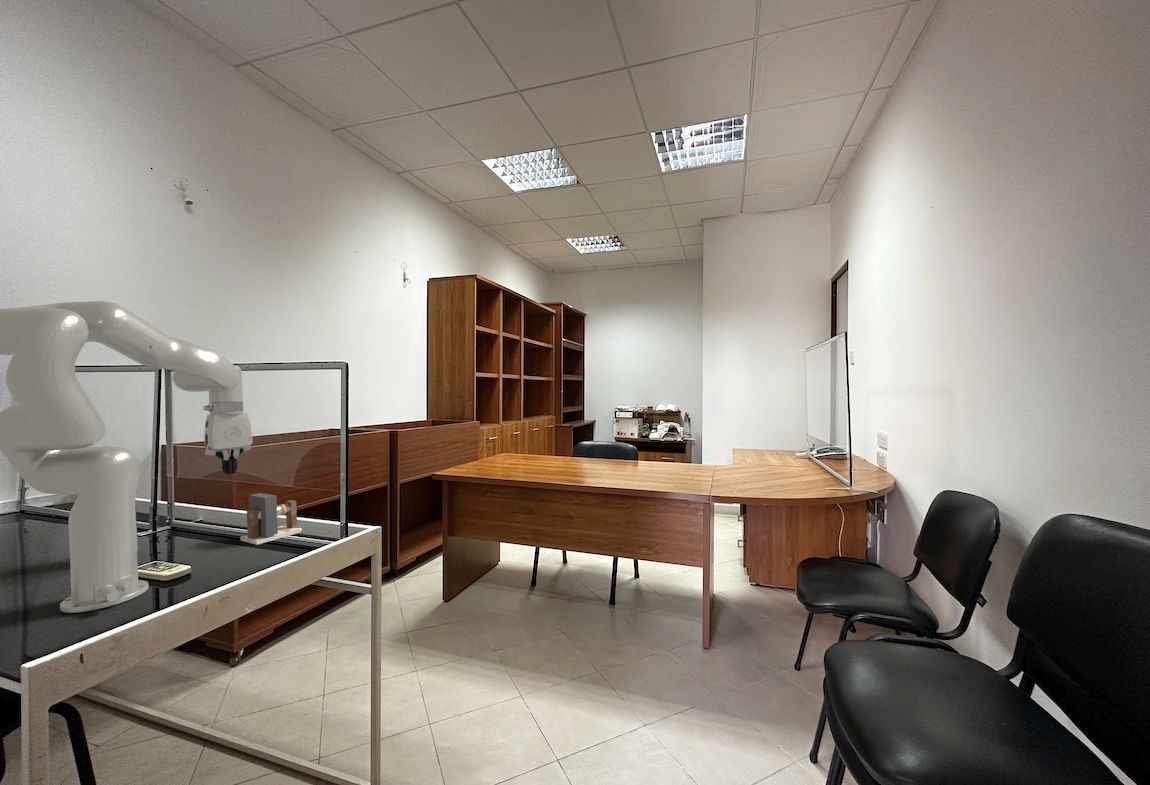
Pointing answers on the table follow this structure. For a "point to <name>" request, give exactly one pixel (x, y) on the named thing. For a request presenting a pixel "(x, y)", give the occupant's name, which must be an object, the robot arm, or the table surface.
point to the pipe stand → (283, 531)
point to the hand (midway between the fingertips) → (230, 473)
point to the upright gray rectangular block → (265, 512)
